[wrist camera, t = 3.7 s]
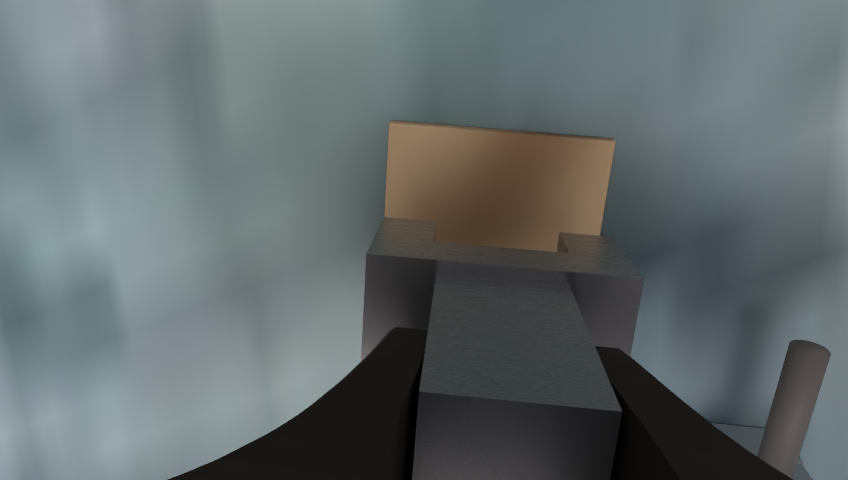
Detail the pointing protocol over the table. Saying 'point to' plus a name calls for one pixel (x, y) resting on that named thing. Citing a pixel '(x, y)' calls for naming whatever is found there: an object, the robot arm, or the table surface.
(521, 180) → the pad
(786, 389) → the vise
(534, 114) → the table surface
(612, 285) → the slotted grey block
